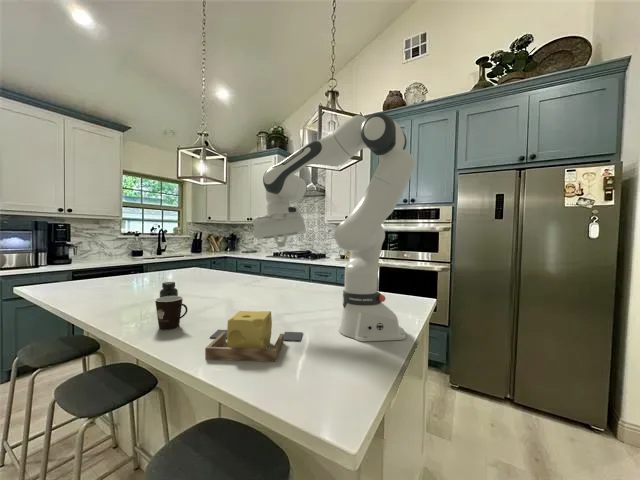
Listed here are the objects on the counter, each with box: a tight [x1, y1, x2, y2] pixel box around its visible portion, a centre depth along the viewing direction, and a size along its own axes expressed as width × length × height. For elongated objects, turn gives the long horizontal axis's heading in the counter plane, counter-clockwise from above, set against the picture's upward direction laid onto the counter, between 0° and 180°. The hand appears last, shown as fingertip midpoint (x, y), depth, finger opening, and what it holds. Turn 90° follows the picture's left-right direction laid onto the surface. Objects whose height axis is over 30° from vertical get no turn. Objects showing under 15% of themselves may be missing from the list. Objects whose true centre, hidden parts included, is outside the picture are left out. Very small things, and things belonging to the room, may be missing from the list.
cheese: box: [226, 310, 273, 349], centre depth 86 cm, size 10×11×10 cm
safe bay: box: [204, 332, 284, 363], centre depth 84 cm, size 19×12×3 cm, turn 88°
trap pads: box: [209, 329, 304, 342], centre depth 96 cm, size 29×7×1 cm, turn 88°
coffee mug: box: [154, 295, 188, 331], centre depth 102 cm, size 12×9×10 cm
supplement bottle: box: [159, 281, 179, 298], centre depth 122 cm, size 7×7×12 cm
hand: (281, 246), depth 112 cm, fingers closed
